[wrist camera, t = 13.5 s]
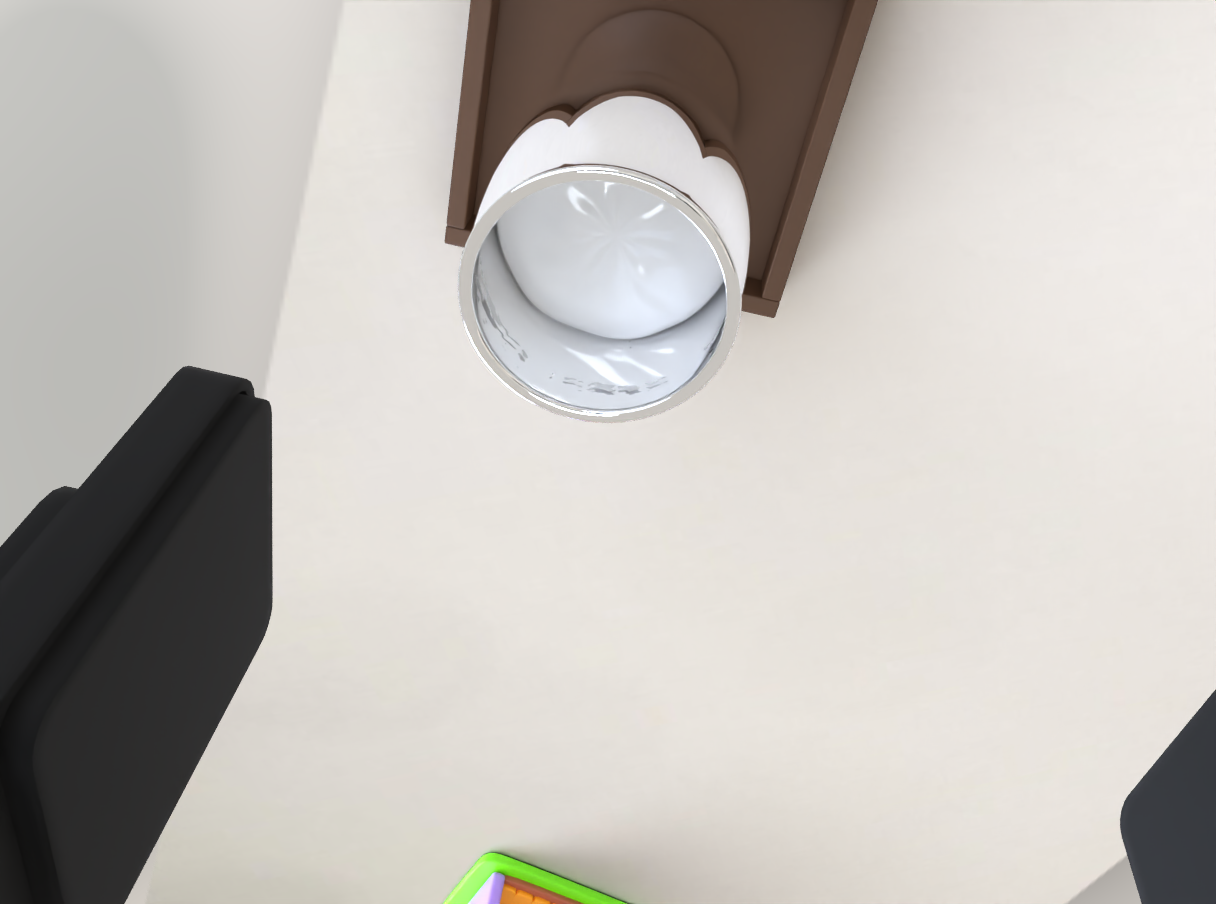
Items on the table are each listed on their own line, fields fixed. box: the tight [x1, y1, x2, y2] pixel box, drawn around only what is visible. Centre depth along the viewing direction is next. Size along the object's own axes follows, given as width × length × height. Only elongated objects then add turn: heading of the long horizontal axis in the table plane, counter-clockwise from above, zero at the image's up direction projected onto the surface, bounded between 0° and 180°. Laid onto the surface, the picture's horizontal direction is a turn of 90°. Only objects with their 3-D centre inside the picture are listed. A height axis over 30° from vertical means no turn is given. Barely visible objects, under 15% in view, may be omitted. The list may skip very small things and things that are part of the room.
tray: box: [445, 0, 878, 318], centre depth 36 cm, size 12×12×2 cm
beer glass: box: [458, 9, 752, 423], centre depth 30 cm, size 7×7×15 cm
